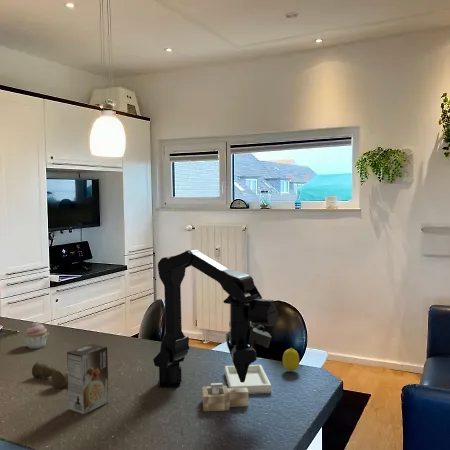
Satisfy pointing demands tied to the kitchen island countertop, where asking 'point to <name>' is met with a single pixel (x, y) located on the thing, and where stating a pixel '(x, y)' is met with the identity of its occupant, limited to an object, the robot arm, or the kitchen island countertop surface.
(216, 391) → the t stake
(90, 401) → the food box
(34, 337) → the cupcake
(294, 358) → the lemon
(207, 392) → the birch collar
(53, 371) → the olive brown dumbbell-shaped piece
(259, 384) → the tray
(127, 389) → the kitchen island countertop surface
